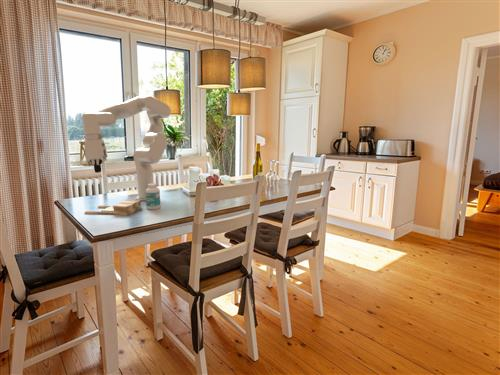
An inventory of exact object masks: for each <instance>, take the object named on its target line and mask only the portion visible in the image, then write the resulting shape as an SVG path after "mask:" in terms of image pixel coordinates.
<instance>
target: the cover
mask: <svg viewBox="0 0 500 375" xmlns="http://www.w3.org/2000/svg"><path fill="white" fill-rule="evenodd" d="M109 206H110V207H108V208H102V210H100V212H114V209H113V206H114V205H109Z"/></svg>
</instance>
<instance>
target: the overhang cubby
mask: <svg viewBox="0 0 500 375" xmlns="http://www.w3.org/2000/svg"><path fill="white" fill-rule="evenodd" d="M110 206H111V205H97V208H98V209H105V208H108V207H110ZM112 206H113V209H114V212H101V210H100V211H94V210H93V211H91V210H90V211H89V210H86V211H84V215H111V216H113V215H114V216H115V215H117V216H119V215H121V216H123V215H124V216H130V215H131V214H134V213H135V212H137V211H139V210H140V209H142V202H141V200H136V199H125V200H123V201H121V202H119V203H117V204H115V205H112Z"/></svg>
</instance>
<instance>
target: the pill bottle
mask: <svg viewBox="0 0 500 375" xmlns="http://www.w3.org/2000/svg"><path fill="white" fill-rule="evenodd" d="M157 186H158V185H157V183H156V182H155V183H154V182H153V183H151V184H148V188H147V189H146V191H145V192H146V200H145V202H146V203H145V207H146V209H147V210H158V209H160V208H161V192H160V191H161V190H160V188H158V187H157Z"/></svg>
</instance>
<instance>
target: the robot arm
mask: <svg viewBox="0 0 500 375" xmlns="http://www.w3.org/2000/svg"><path fill="white" fill-rule="evenodd" d="M145 111H146V114H147V117H148V122H149V124H148V127H147V130H146V131H145V133H144V136H143V138H142V144H143V146H144V147H138V148H136V149H135V150H134V152H133V161H134V164H135V171H136V183H137V185H136V186H137V196H136V197H135V200H141V201H144V202H146V192H145V191H146V189H147V188H148V184H151V183H154V171H153V167H152V165H156V164H158V163H159V162H160V161H161V159H162V157H163V154H164V153H165V150H166V148H167V144H168V137H167V136H166V134H165V133H163V130H164V125H163V121H162V119H167V118H169V117H170V116H171V107H170V106H169V105H168V104H167V103H166V102H164V101H162V100H160V99H158V98H156V97H155V96H152V95H149V94H148V95H147V94H146V95H138V96H136V97H133V98H131V99H128V100H126V101H124V102H121V103H118V104H115V105H113V106H109V107H106V108H103V109H101V110H98V111H96V112H84V113H82V123H83V130H84V139H85V140H84V145H83V146H84V157H85V160H86V162H89V163H91V164H92V166H93V169H94V173H101V172H102V164H103V163H104V162H106V161H107V160H108V159H107V158H108V150H107V146H106V143H105V141H104V139H102V138H104V134H102V131H101V128H110V127H113V126H114V125H115V124H116V122H117V121H118V120H123V119H124V120H125V119H129V118H131V117H133V116H135V115H138V114H139V113H143V112H145Z"/></svg>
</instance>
